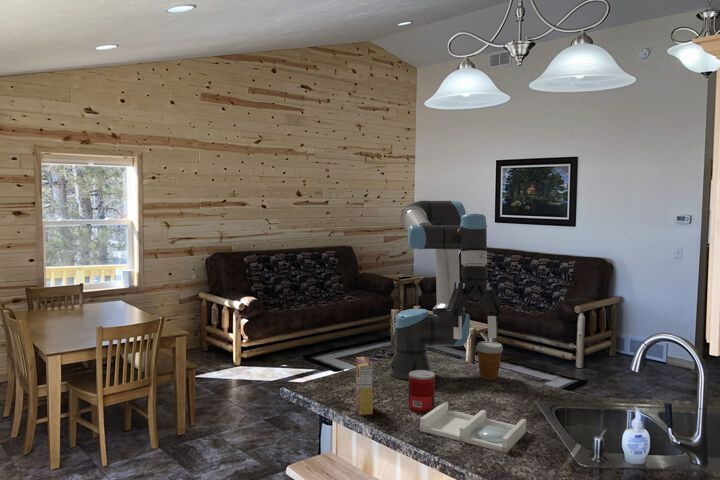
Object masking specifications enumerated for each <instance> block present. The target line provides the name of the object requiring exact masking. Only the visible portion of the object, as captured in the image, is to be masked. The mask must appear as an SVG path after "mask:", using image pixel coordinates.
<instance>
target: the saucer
mask: <svg viewBox="0 0 720 480" xmlns="http://www.w3.org/2000/svg"><path fill="white" fill-rule="evenodd" d="M508 432H509V430H507V429H505V428H503V427H499V426H492V425H487V426H481V427H479V428H477V432H476V435H477V437H478V438H479V439H481V440H483V441H487V442H491V443H502V438H503V437H504V436H505V435H506V434H507V433H508Z"/></svg>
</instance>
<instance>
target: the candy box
mask: <svg viewBox="0 0 720 480" xmlns="http://www.w3.org/2000/svg"><path fill="white" fill-rule="evenodd" d="M373 367H374V365H373V364H372V362H371V359H370V358H369V357H368V356H359V357H358V356H357V357H355V390H356V391H355V393H356V395H355V397H356V398H355V399H356V400H355V401H356V402H355V403H356V407H357V409H358V412H359V413H358V414H359V415H361V416H362V415H363V416H364V415H366V416H367V415H368V416H369V415H373V412H374V411H373V410H374V409H373V408H374V407H373V405H374V402H373V401H374V398H373V397H374V391H373V390H374V389H373V387H374V384H373V383H374V370H373V369H374V368H373Z"/></svg>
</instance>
